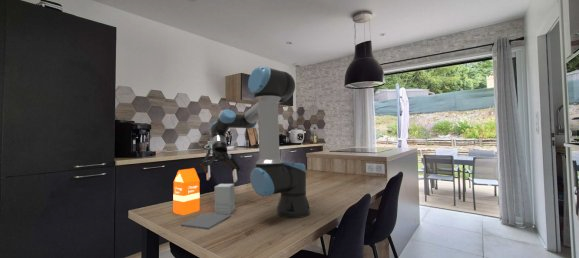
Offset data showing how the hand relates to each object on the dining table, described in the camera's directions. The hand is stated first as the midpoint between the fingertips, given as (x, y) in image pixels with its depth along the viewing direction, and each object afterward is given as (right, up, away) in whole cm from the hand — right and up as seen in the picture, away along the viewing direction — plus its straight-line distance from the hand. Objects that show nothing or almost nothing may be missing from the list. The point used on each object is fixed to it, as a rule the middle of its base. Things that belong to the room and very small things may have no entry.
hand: (222, 180), depth 119 cm
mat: (-2, -14, -15) cm, 21 cm away
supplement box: (+2, -15, -3) cm, 15 cm away
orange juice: (-17, -15, -2) cm, 22 cm away
